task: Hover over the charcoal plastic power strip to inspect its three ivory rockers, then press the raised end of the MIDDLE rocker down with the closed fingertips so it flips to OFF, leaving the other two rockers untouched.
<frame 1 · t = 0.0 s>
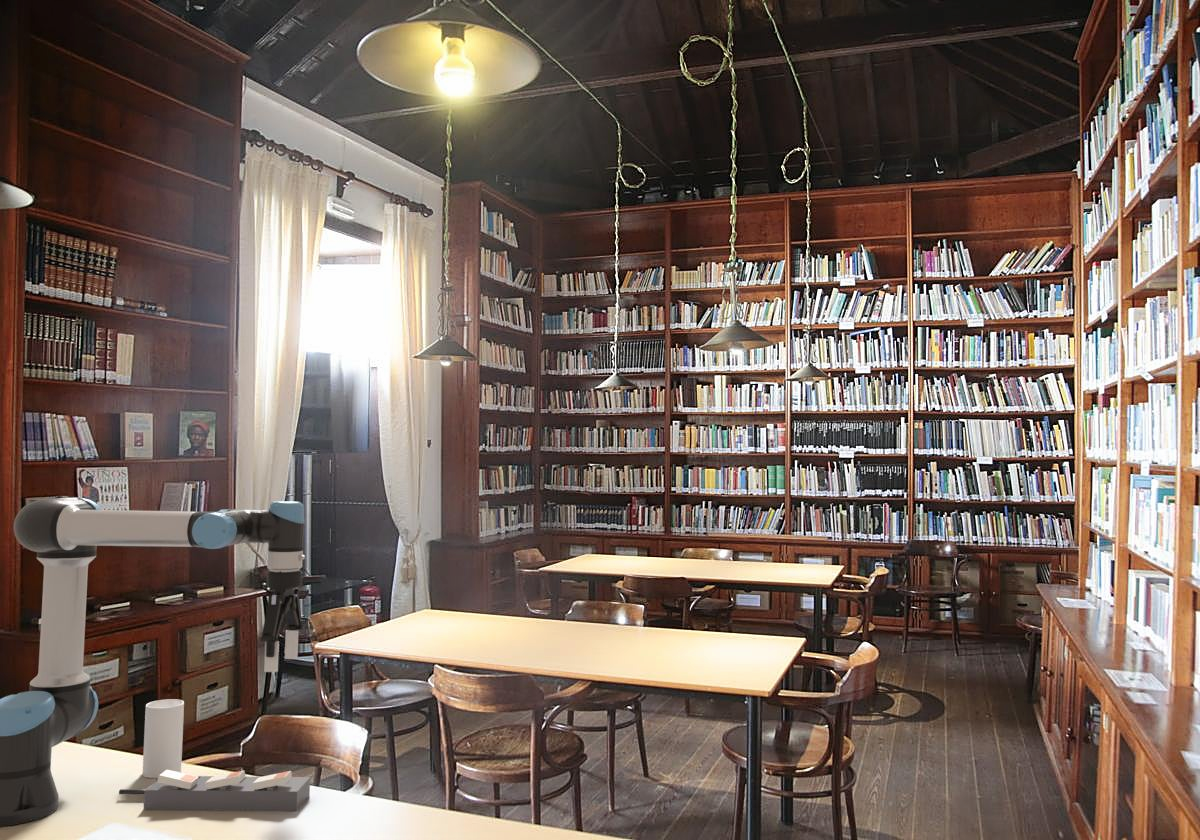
hand: (281, 665, 201), 28 cm above the table, fingers open, 13 cm apart
rocker 3: (272, 780, 191), point 6 cm above the table, hinge at -12.0°
rocker 1: (178, 779, 191), point 6 cm above the table, hinge at 12.0°
rocker 2: (225, 779, 191), point 6 cm above the table, hinge at -12.0°
cup: (161, 773, 211), on the table
strip: (228, 802, 193), on the table
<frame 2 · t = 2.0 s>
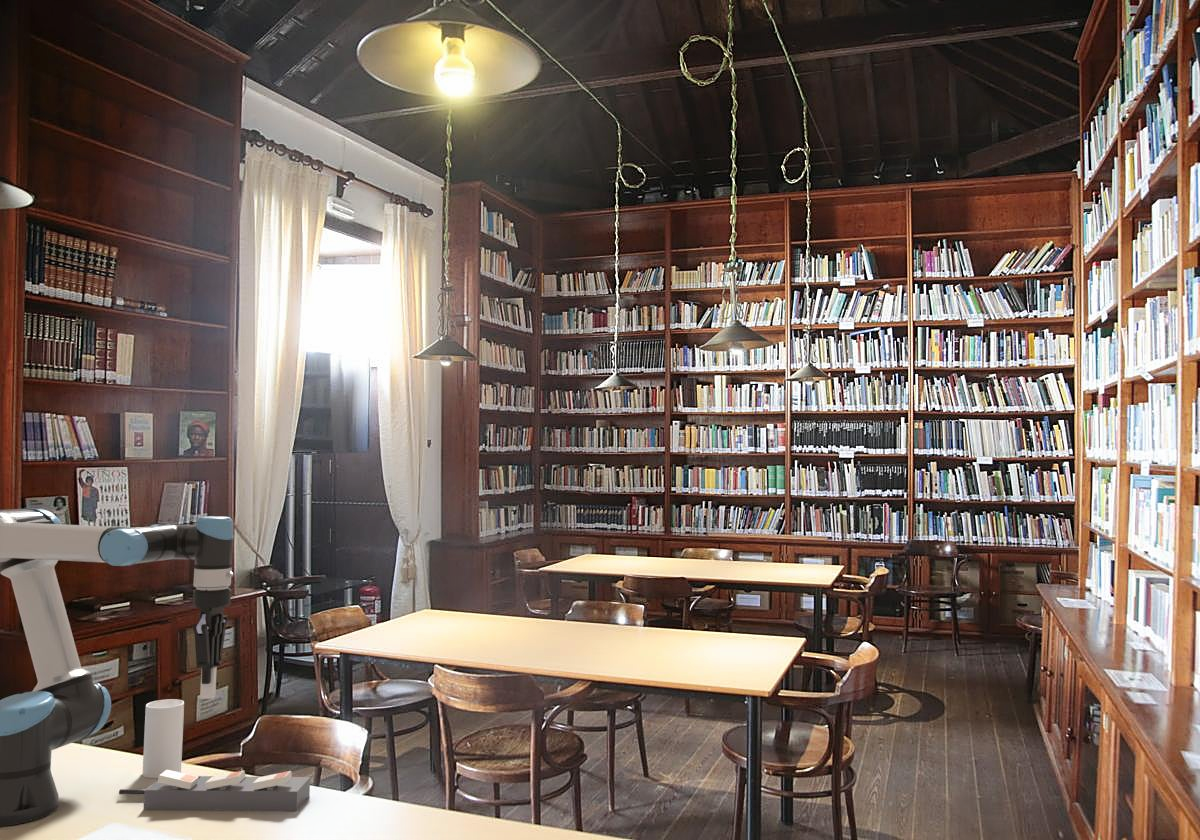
hand: (207, 697, 193), 22 cm above the table, fingers closed
nothing on the table moved.
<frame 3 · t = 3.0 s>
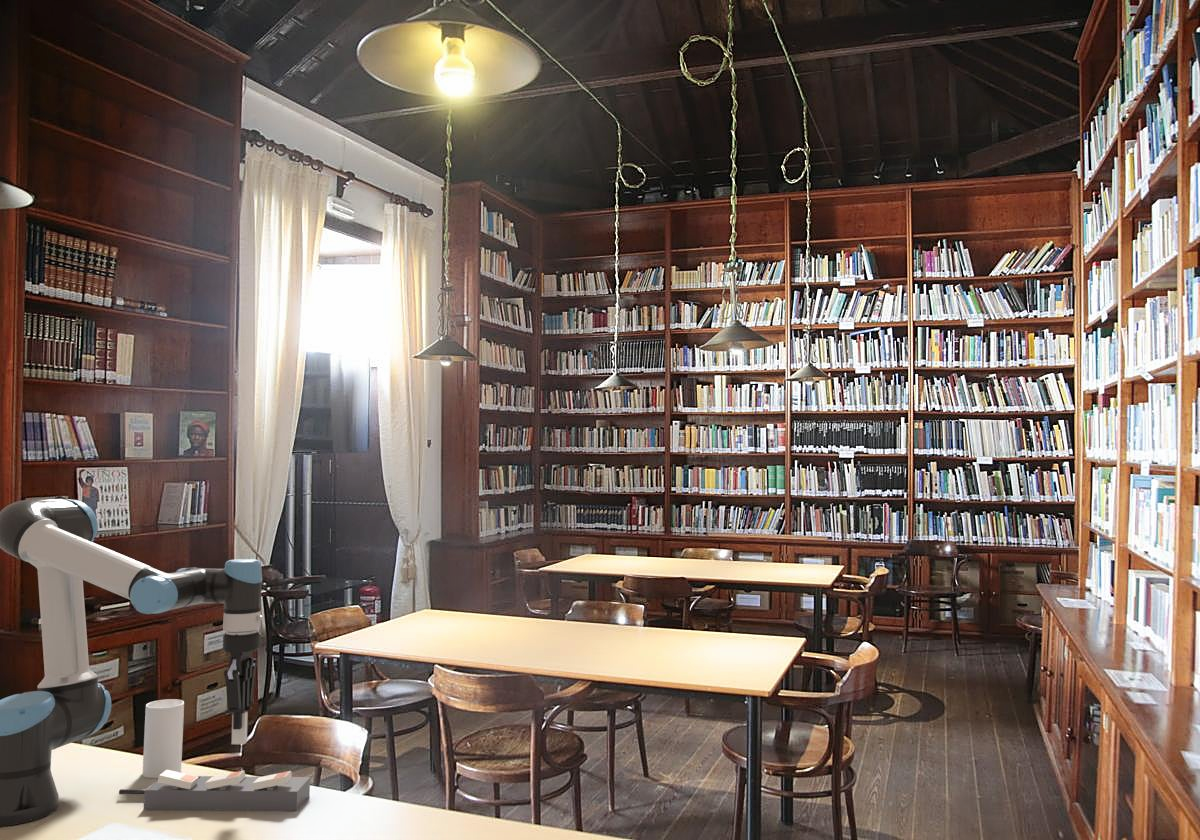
hand: (239, 743, 192), 13 cm above the table, fingers closed
nothing on the table moved.
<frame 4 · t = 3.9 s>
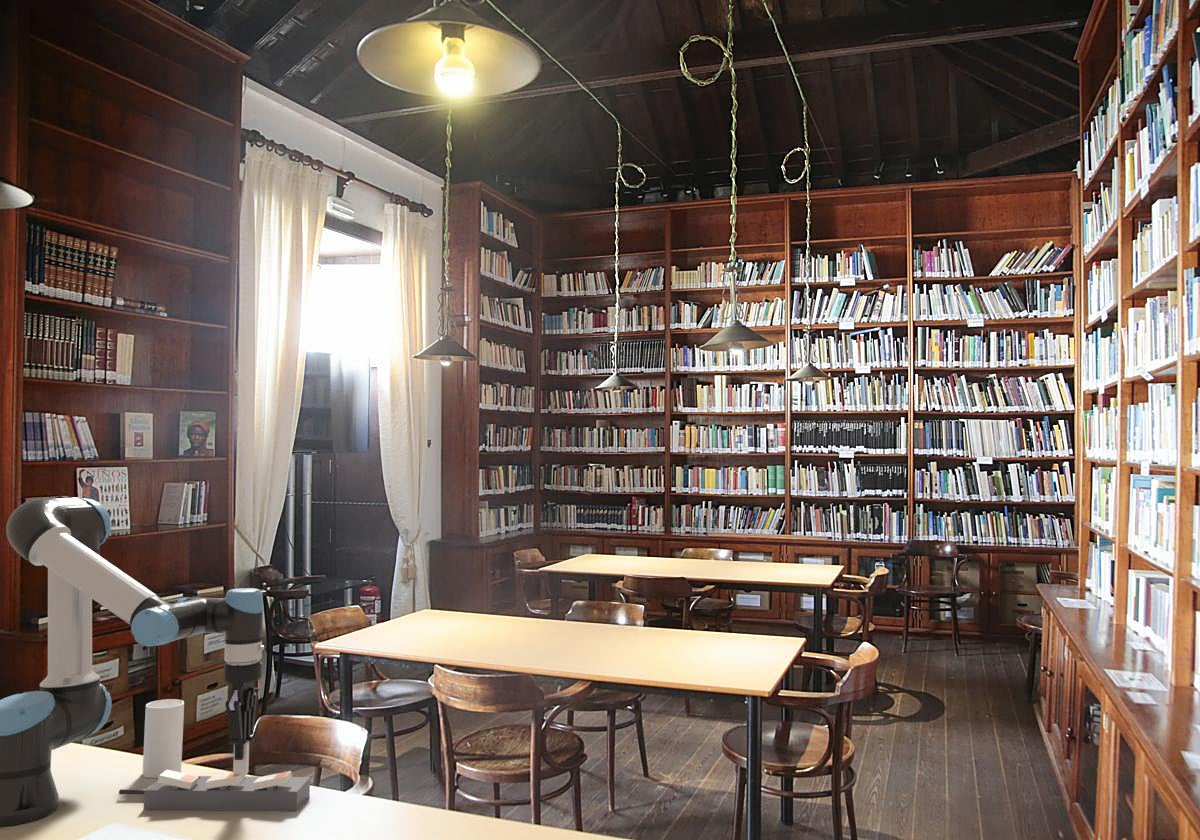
hand: (240, 773, 191), 7 cm above the table, fingers closed
rocker 2: (225, 779, 191), point 6 cm above the table, hinge at -10.0°, touching gripper
everything else where it was.
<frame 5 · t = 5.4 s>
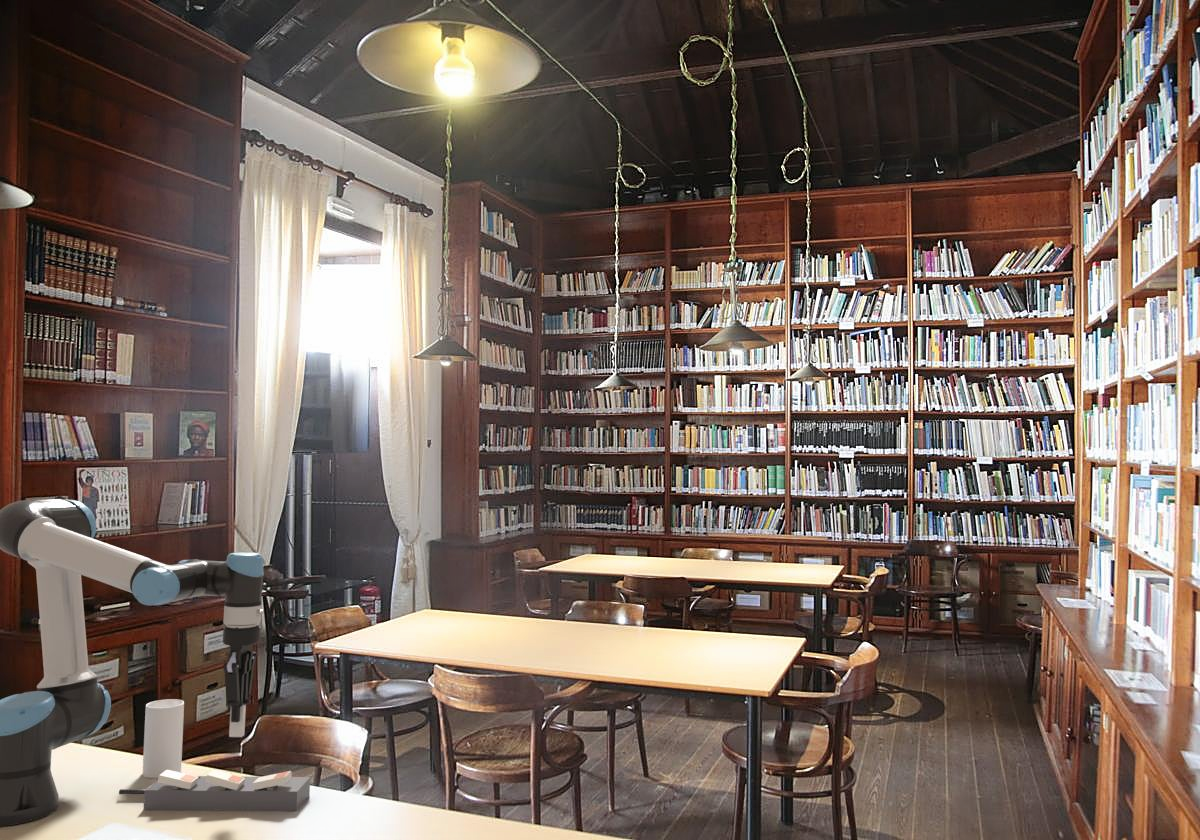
hand: (236, 735, 192), 15 cm above the table, fingers closed
rocker 2: (225, 779, 191), point 6 cm above the table, hinge at 14.7°, touching strip
everything else where it was.
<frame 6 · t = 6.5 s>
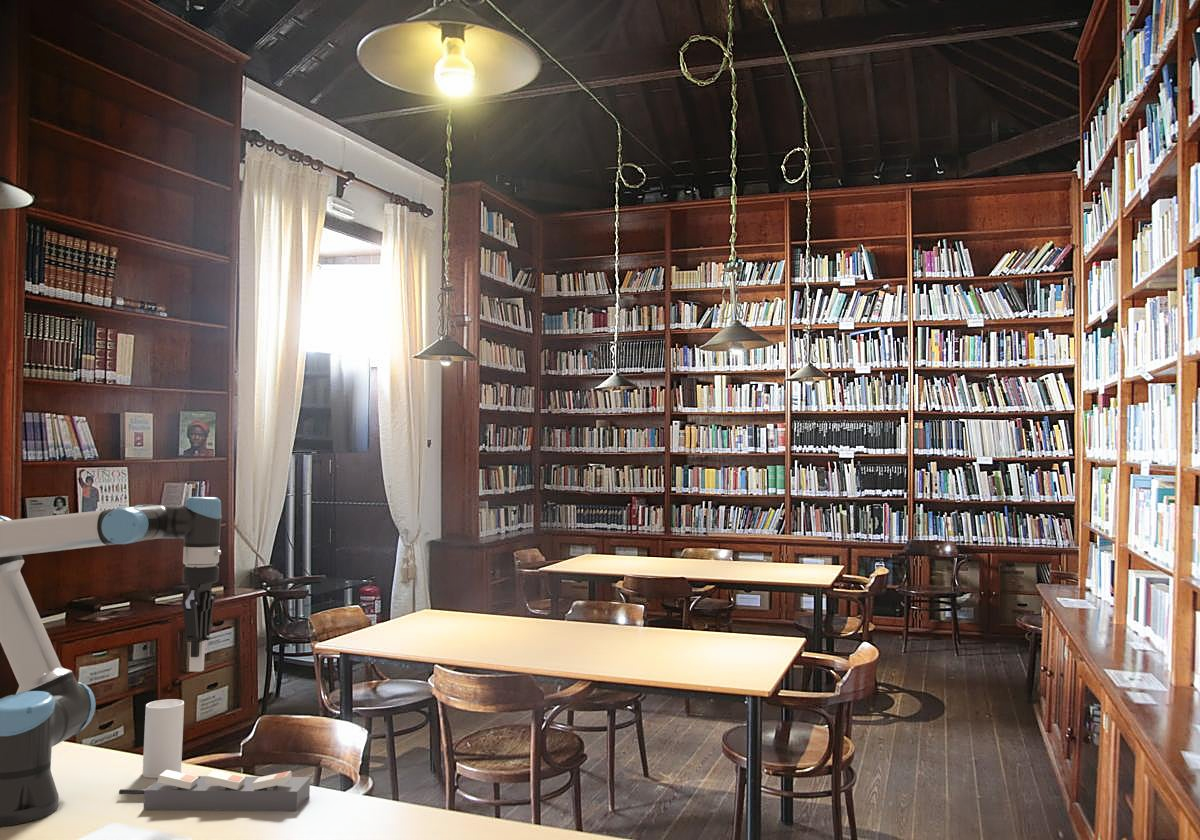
hand: (196, 670, 201), 26 cm above the table, fingers closed
rocker 2: (225, 779, 191), point 6 cm above the table, hinge at 11.1°
everything else where it was.
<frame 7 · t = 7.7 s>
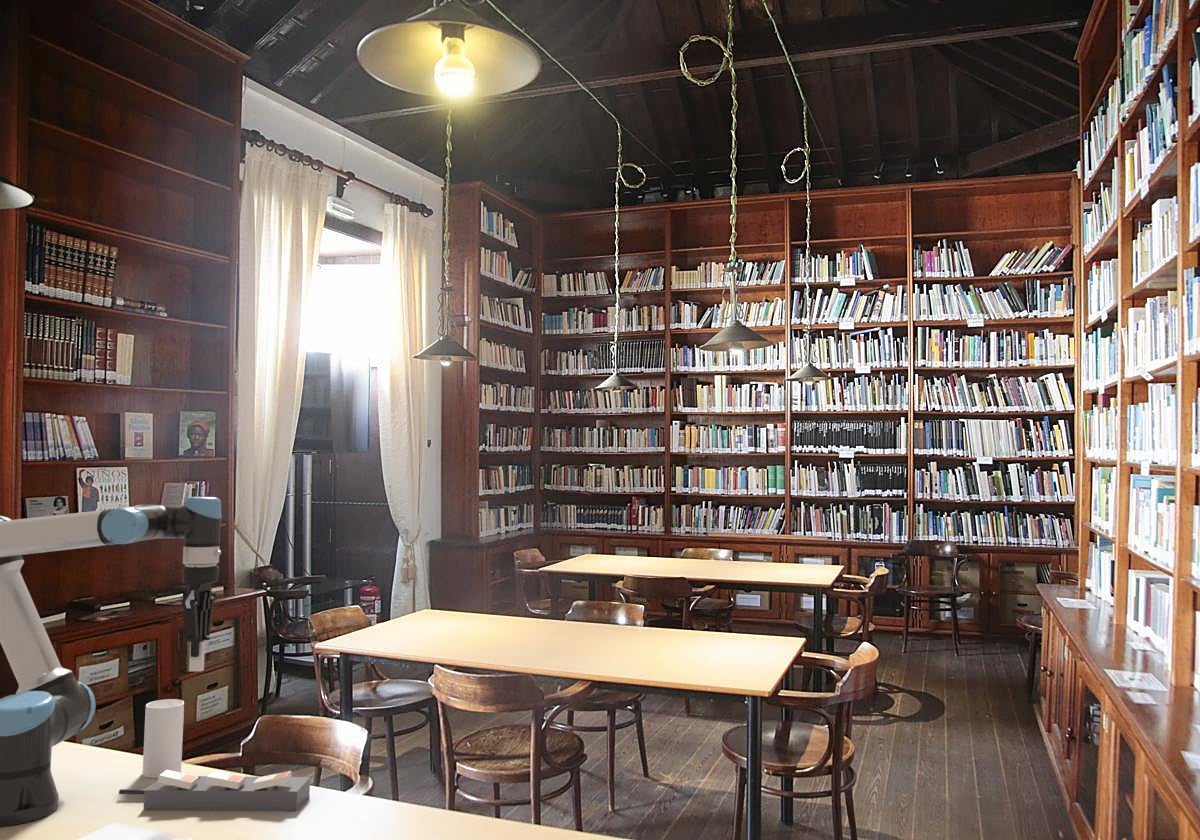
hand: (196, 670, 201), 26 cm above the table, fingers closed
rocker 2: (225, 779, 191), point 6 cm above the table, hinge at 9.3°
everything else where it was.
at the end: rocker 2 at +9° (first picture: -12°); rocker 3 at -12° (first picture: -12°); rocker 1 at +12° (first picture: +12°) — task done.
